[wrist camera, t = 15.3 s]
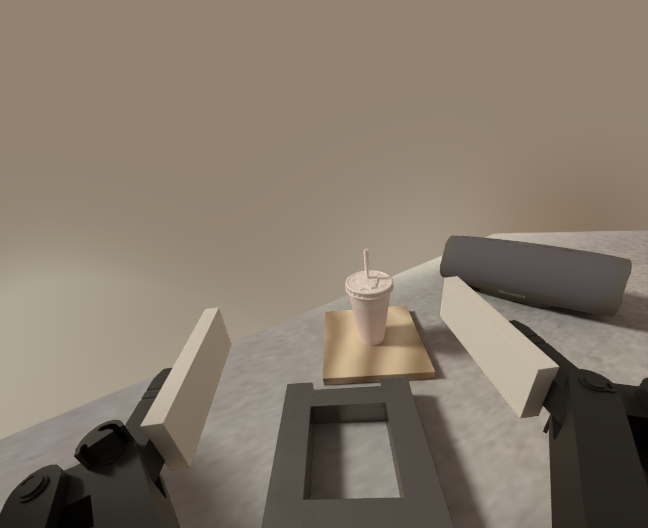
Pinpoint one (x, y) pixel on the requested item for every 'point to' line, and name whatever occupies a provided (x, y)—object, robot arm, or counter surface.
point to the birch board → (373, 350)
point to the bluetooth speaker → (538, 273)
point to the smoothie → (370, 302)
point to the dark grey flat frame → (366, 513)
